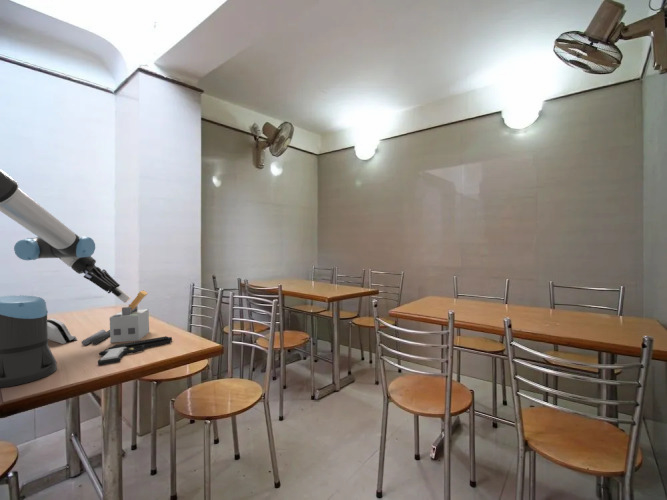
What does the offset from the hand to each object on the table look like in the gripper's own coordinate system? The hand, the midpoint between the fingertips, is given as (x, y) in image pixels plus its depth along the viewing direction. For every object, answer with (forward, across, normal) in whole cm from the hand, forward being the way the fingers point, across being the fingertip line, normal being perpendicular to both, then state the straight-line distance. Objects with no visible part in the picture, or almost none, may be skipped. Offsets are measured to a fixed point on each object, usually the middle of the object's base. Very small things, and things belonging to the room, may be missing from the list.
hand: (127, 300), depth 128 cm
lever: (+3, 0, +4) cm, 5 cm away
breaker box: (+11, 0, +11) cm, 16 cm away
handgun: (+19, -20, +4) cm, 28 cm away
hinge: (-8, +4, +31) cm, 32 cm away
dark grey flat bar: (+3, 0, +19) cm, 19 cm away
